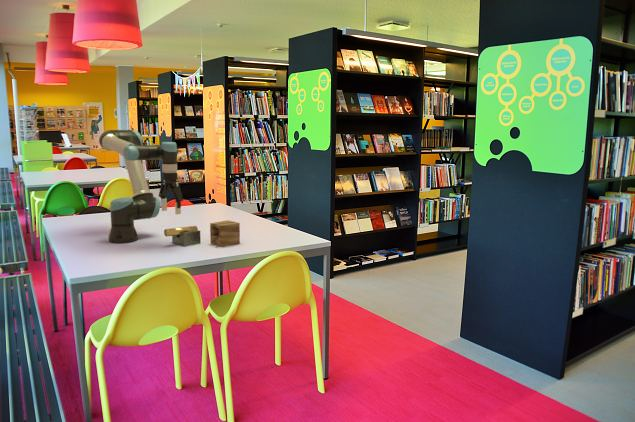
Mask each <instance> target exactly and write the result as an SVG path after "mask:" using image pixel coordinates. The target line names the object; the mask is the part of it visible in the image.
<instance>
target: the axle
mask: <svg viewBox="0 0 635 422" xmlns="http://www.w3.org/2000/svg"><path fill="white" fill-rule="evenodd" d="M195 230H199V229H198V227H197V225H190V226H181V227H173V228H166V229H164V231H163V234H164V237H166V238H168V237H172V236H176V235H182V233H183V232H189V231H195Z"/></svg>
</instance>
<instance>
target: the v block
mask: <svg viewBox="0 0 635 422" xmlns="http://www.w3.org/2000/svg"><path fill="white" fill-rule="evenodd" d="M171 242H172V243H173V244H176V245H179V246H183V247H188V246H194V245H200V244H201V242H202V241H201V230H199V229H198V230H195V231H189V232H183V233H182V235H176V236H171Z"/></svg>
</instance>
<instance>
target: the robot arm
mask: <svg viewBox="0 0 635 422" xmlns="http://www.w3.org/2000/svg"><path fill="white" fill-rule="evenodd" d="M143 141H144V140H143V137H142V135H141V133H140V132H139V131H137V130H134V129H133V130H132V129H109V130H106V131H103V132H102V133H101V134H100V136H99V138H98V143H99V146H100V147H101V148H102V149H103V150H106V151H107V152H115V153H117V154H120V156H122V157H123V159H124V163H125V167H126V170H127V174H128V178H129V181H130V185H131V190H132V192H133V193H132V194H133V195H132V196H126V197H124V196H123V197H118V198H114V199H113V200H111V201H110V204H109V205H110V206H109V207H110V208H109V210H110V223H111V224H110V231H109V235H108V242H109V243H113V244H127V243H133V242H136V241H138V240H139V236H138V233H137V231H136V228H135V222H134V221H139V220H147V219H148V220H149V219H154V218H156V217H158V215H159V214H160V210H161V212H164V211H166V212H167V211H168V201H167V200H168V199H167V198H168V197H167V195H168V194H169V191H170V192H171V193H172V195H173V197H174V200H175V201H174V206H175V207H174V208H175V212H174V214H175V215H181V214H182V208H181V207H182V206H181V205H182V203H181V202H182V201H184V197H183V193H182V190H181V186H180V182H178V181H177V180H178V179H179V178H178V177H179V176H178V147H177V146H178V145H177V143H176V142H174V141H163V142H161V144H153V145H152V144H151V145H148V144H147V145H146V144H145V145H144V143H143ZM151 160H160V161H161V166H162V167H161V169H162V173H161V174H162V180H161V182H160V183H161V184H160V188H159V192H158V197H159V198H160V199H161V201H160V200H159V198H158V197H156V196H154V193H153V192H152V191H150V189H149V186H148V182H147V178H146V174H145V170H144V167H143V163H142V161H151ZM160 202H161V203H160Z"/></svg>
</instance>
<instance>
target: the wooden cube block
mask: <svg viewBox="0 0 635 422" xmlns="http://www.w3.org/2000/svg"><path fill="white" fill-rule="evenodd" d="M240 224H241V223H240V222H237V221H231V220H223V221H216V222H210V223H209V226H210V227H209V228H210V229H209V231H210V233H209V234H210V235H209V236H210V245H213V246H216V247H219V248H224V247H229V246H235V245H239V244H241V242H240V241H241V238H240V237H241V236H240V234H241V230H240V228H241V225H240Z"/></svg>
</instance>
